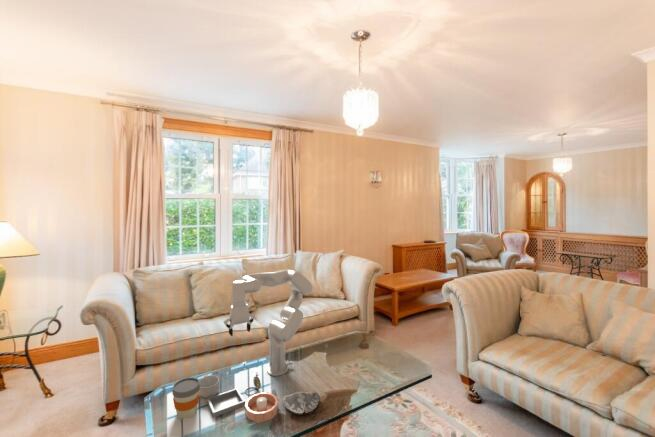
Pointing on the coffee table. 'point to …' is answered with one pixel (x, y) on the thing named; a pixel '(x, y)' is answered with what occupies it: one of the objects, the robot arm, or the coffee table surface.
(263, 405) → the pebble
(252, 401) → the bowl
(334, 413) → the coffee table surface
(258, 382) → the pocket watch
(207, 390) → the teacup
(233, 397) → the tray
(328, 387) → the coffee table surface
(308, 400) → the brain slice
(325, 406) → the coffee table surface
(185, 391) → the reusable coffee cup
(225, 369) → the coffee table surface
